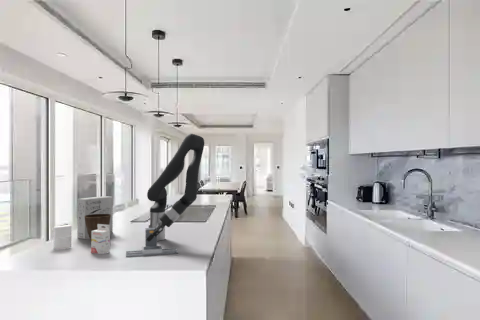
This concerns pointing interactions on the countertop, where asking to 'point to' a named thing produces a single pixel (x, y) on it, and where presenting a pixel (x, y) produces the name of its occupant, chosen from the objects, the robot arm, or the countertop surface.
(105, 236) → the ink cartridge box
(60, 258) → the countertop surface
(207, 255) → the countertop surface
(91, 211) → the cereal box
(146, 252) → the rail
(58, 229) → the white box
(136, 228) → the countertop surface
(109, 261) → the countertop surface
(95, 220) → the plant pot
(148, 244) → the module
